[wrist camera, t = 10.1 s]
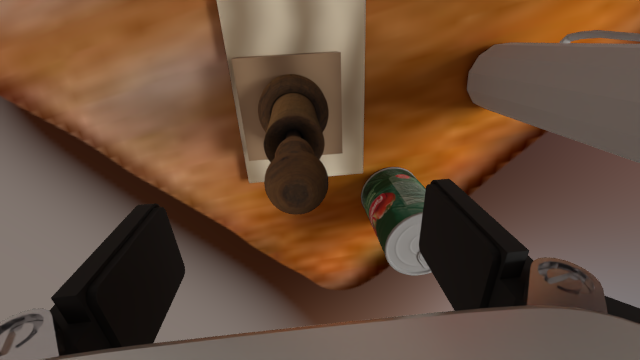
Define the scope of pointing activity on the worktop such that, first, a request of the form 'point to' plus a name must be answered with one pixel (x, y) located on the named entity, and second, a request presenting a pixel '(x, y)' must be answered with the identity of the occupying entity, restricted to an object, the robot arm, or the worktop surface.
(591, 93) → the water bottle
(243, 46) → the birch board
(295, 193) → the brown wooden pepper mill
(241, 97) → the walnut base block
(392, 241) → the canned tomato
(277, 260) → the worktop surface
